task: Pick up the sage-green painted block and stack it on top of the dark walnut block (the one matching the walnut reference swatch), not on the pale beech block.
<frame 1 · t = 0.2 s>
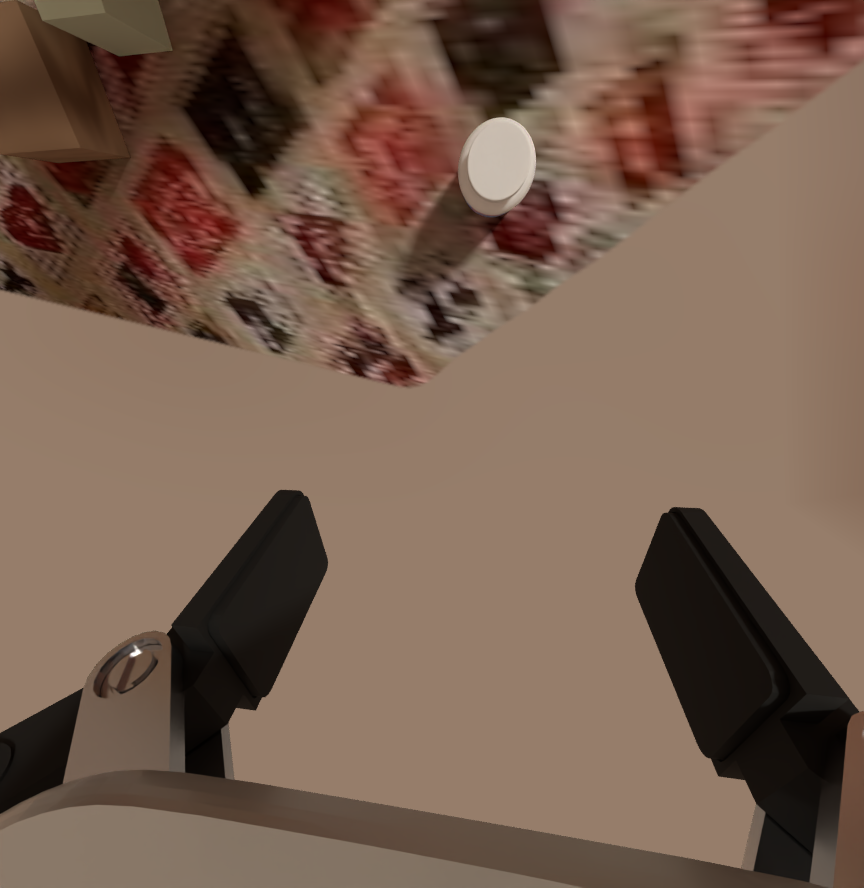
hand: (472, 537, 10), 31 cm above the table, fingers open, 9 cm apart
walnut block: (71, 103, 31), on the table
pill bottle: (493, 180, 30), on the table
sage block: (131, 8, 27), on the table
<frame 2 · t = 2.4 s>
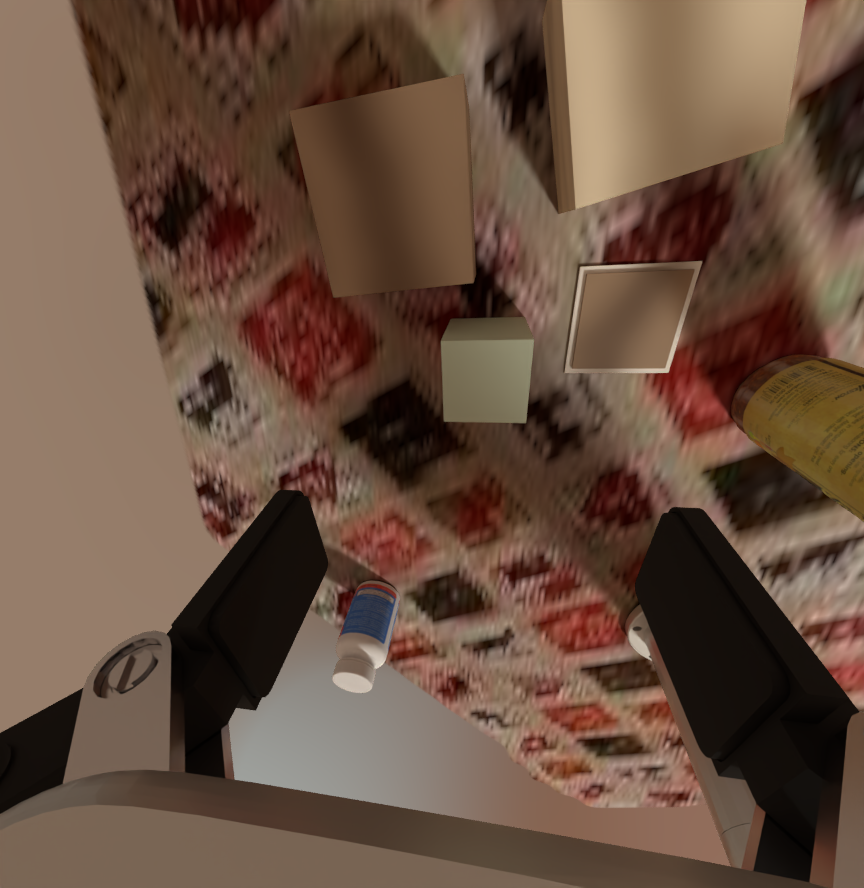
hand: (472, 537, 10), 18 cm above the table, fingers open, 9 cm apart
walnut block: (408, 209, 21), on the table
pill bottle: (379, 592, 42), on the table
sage block: (486, 353, 25), on the table
beech block: (632, 97, 18), on the table
sauce bottle: (779, 393, 24), on the table
reference swatch: (625, 322, 23), on the table
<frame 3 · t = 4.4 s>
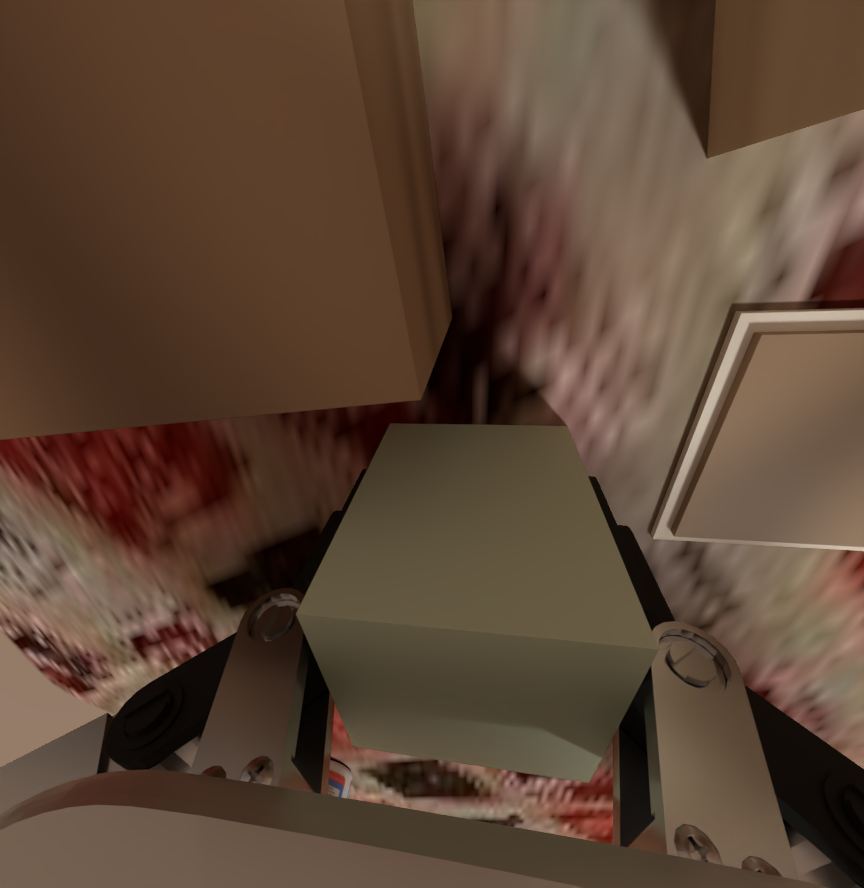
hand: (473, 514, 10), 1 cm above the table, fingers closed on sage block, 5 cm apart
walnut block: (242, 146, 7), on the table
pill bottle: (322, 762, 28), on the table
sage block: (474, 492, 11), on the table, touching gripper
reference swatch: (831, 448, 9), on the table
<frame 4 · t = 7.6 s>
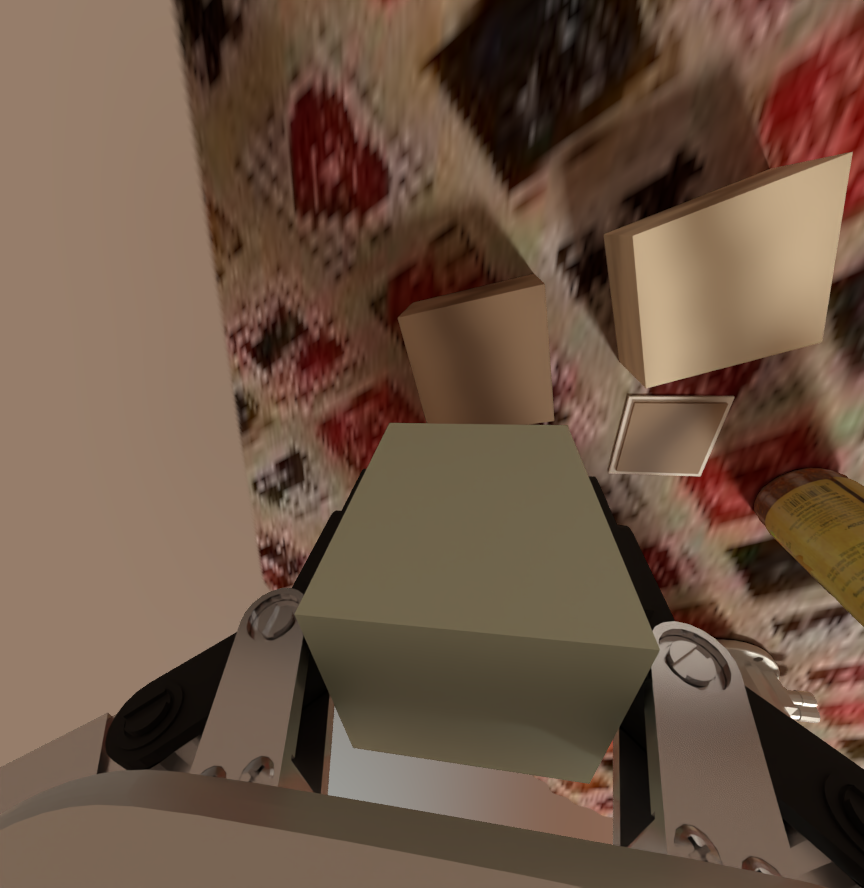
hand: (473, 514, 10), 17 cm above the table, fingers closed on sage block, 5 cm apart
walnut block: (480, 347, 25), on the table
sage block: (474, 492, 11), point 16 cm above the table, touching gripper
beech block: (681, 278, 21), on the table
sauce bottle: (796, 493, 27), on the table
reference swatch: (665, 437, 26), on the table
when the fingers open (7 cm above the table, at t = 11.1 s): sage block drops 1 cm, resting on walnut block.
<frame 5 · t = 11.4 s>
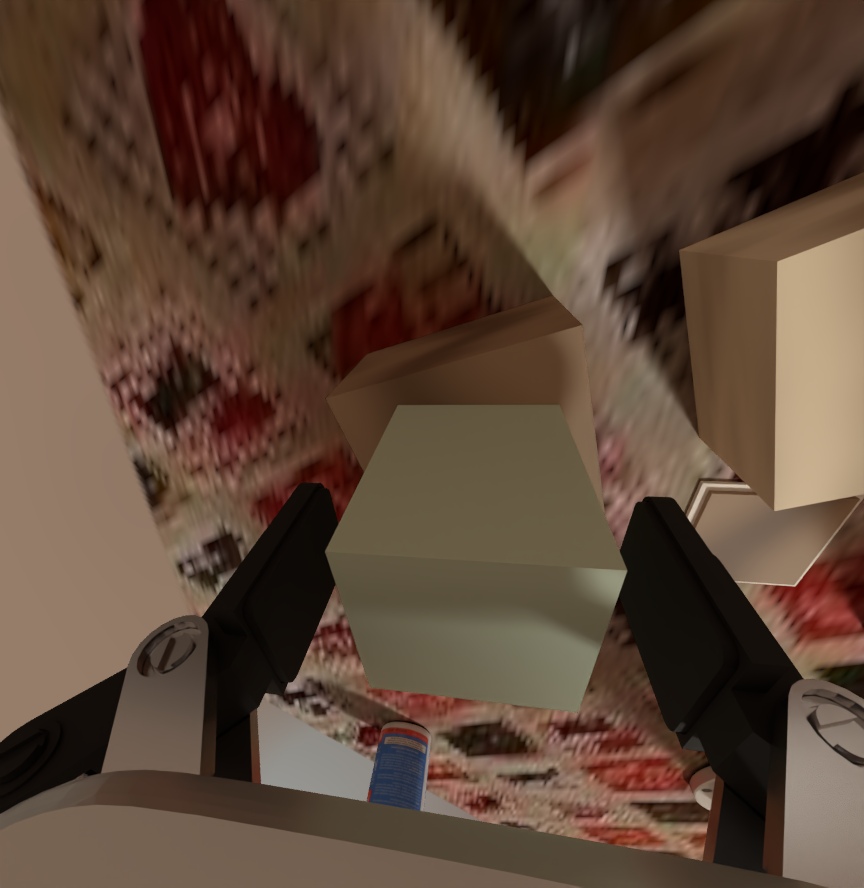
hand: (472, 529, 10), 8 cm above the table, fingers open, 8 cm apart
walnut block: (477, 408, 16), on the table, touching sage block
pill bottle: (407, 728, 37), on the table
sage block: (475, 469, 12), point 5 cm above the table, touching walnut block
beech block: (813, 311, 13), on the table
reference swatch: (750, 536, 18), on the table
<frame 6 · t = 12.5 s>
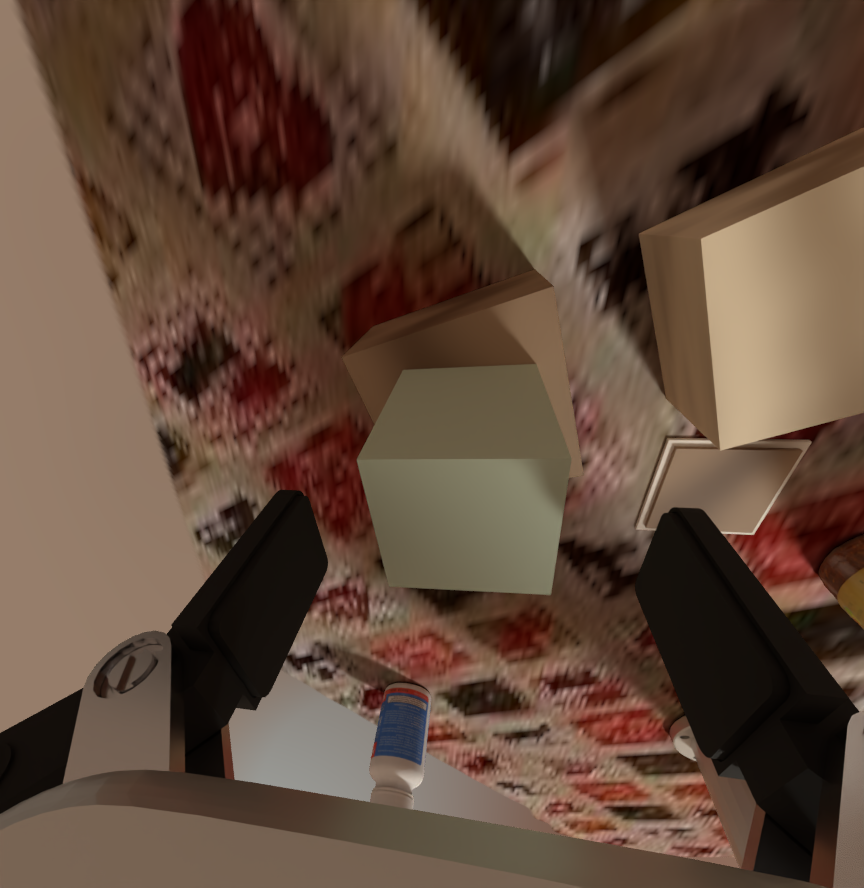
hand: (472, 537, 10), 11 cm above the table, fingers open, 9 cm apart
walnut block: (471, 374, 18), on the table, touching sage block
pill bottle: (408, 690, 40), on the table
sage block: (469, 424, 14), point 5 cm above the table, touching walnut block
beech block: (755, 283, 15), on the table
reference swatch: (712, 488, 20), on the table
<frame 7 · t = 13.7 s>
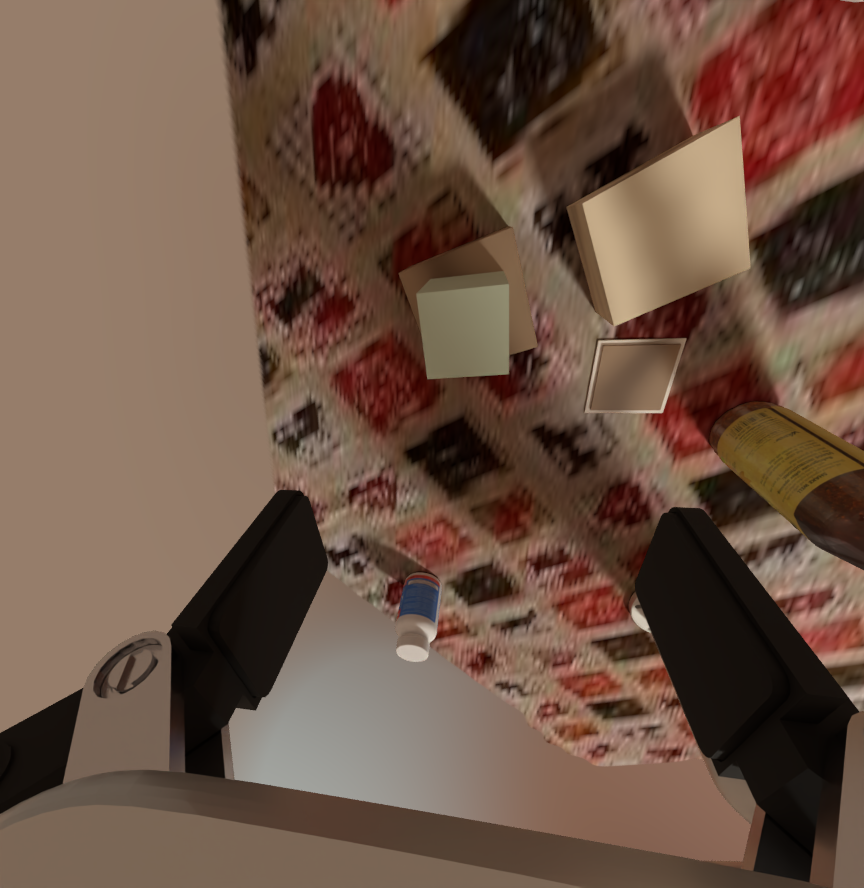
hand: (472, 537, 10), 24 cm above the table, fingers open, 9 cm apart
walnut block: (472, 298, 29), on the table
pill bottle: (423, 581, 50), on the table
sage block: (468, 313, 25), point 5 cm above the table
beech block: (637, 234, 25), on the table
sauce bottle: (744, 426, 32), on the table
reference swatch: (631, 377, 31), on the table
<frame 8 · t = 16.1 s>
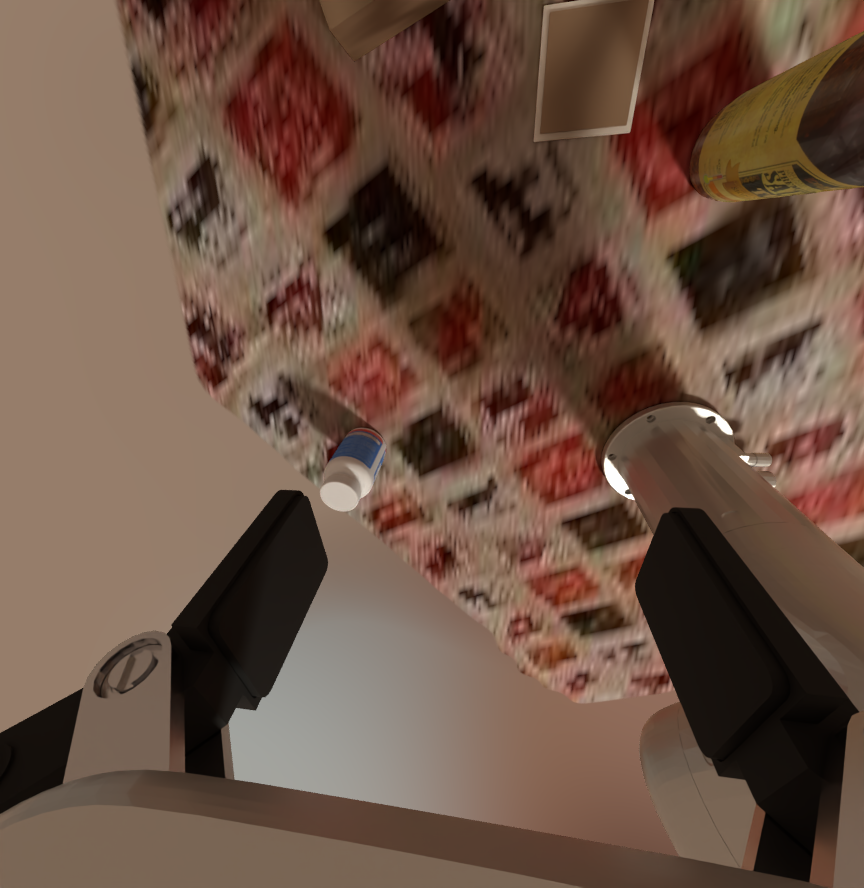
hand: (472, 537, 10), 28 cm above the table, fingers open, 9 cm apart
pill bottle: (366, 444, 43), on the table
sauce bottle: (734, 151, 25), on the table
reference swatch: (588, 73, 24), on the table
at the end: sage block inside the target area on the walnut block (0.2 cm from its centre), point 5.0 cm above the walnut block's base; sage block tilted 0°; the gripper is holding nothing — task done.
